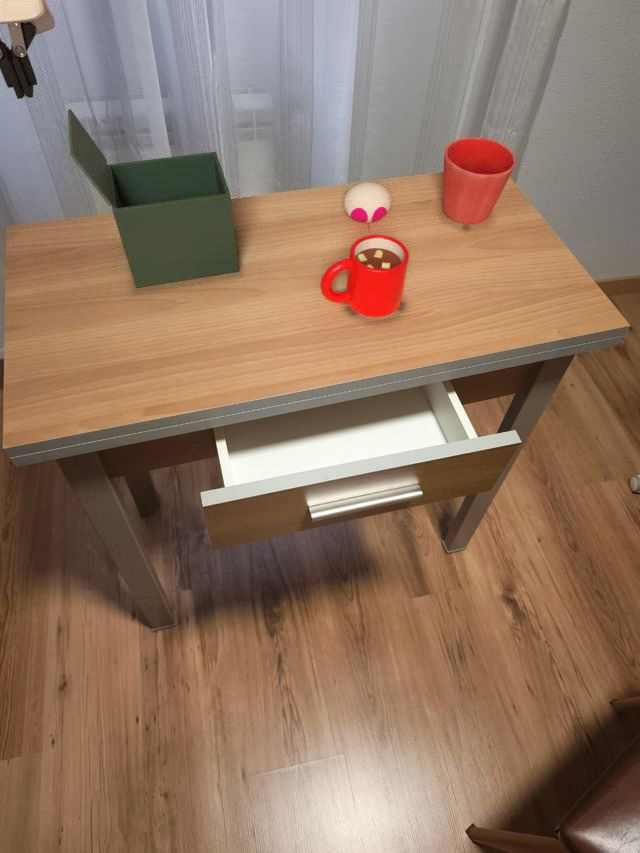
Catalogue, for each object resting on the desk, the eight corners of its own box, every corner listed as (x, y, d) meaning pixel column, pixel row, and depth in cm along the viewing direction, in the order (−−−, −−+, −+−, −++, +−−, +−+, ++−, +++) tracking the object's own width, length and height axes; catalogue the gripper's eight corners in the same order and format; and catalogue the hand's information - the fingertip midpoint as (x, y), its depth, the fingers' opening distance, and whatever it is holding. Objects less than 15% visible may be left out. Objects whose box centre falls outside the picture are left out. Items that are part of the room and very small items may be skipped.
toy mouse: (344, 243, 94) (347, 228, 87) (340, 195, 94) (343, 176, 87) (389, 240, 94) (396, 225, 88) (386, 192, 94) (392, 174, 88)
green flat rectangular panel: (112, 205, 71) (109, 206, 71) (106, 159, 77) (104, 160, 77) (73, 153, 65) (70, 155, 65) (70, 108, 71) (67, 110, 71)
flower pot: (457, 238, 90) (472, 181, 82) (421, 201, 96) (432, 144, 88) (511, 222, 93) (530, 165, 85) (473, 187, 99) (488, 131, 91)
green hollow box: (136, 288, 81) (112, 210, 71) (129, 242, 88) (106, 164, 77) (239, 271, 84) (230, 194, 74) (225, 228, 90) (216, 151, 80)
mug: (311, 292, 82) (312, 246, 75) (387, 275, 84) (394, 229, 78) (330, 329, 78) (333, 284, 71) (409, 309, 80) (419, 264, 74)
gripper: (31, -148, 52) (92, 71, 67) (-149, -142, 49) (-44, 84, 64) (31, -127, 48) (96, 101, 63) (-167, -120, 45) (-49, 116, 60)
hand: (25, 92), depth 63 cm, fingers closed
